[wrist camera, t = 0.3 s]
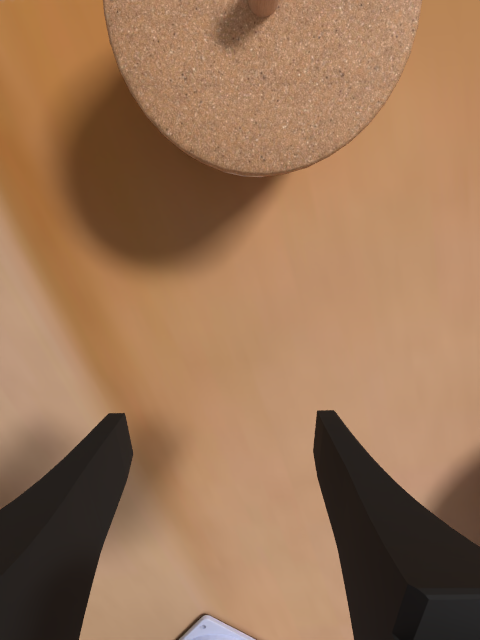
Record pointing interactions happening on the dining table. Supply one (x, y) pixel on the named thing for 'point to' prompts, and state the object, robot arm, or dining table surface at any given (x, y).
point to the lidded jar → (261, 74)
